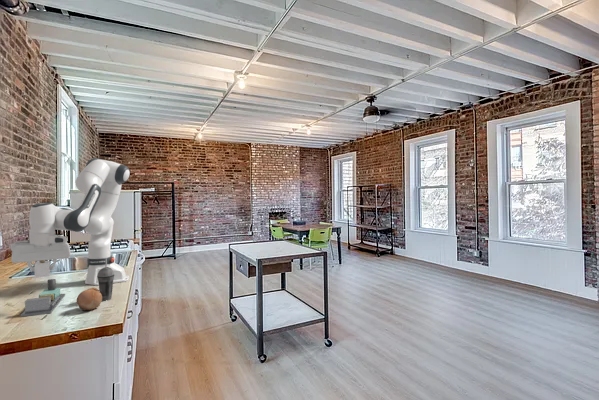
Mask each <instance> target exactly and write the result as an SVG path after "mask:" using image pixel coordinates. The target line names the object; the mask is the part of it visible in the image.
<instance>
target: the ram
mask: <svg viewBox="0 0 599 400" xmlns="http://www.w3.org/2000/svg"><path fill="white" fill-rule="evenodd" d="M60 294H61V287H57V286H56V279H55V278H49V279H48V280H47V289H44V290H43V291H42V292H41V293H40V294H39V295H38V298H41V297H50V296H51V300H54V299H55V298H56V297H57V296H59V295H60Z"/></svg>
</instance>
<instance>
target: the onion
mask: <svg viewBox="0 0 599 400" xmlns="http://www.w3.org/2000/svg"><path fill="white" fill-rule="evenodd" d="M102 302H103V301H102V294H101V293H100V292H99V289H97V288H96V287H91V288H88V289H85V290H83V291H81V292H79V294H78V296H77V298H76V305H77V306H78V307H79V308H80V310H82V311H91V310H92V311H93V310H96V309H97V308H99V307H100V306H101V303H102Z"/></svg>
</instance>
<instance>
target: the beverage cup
mask: <svg viewBox="0 0 599 400" xmlns="http://www.w3.org/2000/svg"><path fill="white" fill-rule="evenodd" d="M114 275H115V274H114V271H113V270H112V269H111V268H109V267H107V258H106V267H104V268H102V269H101V270H100V271H99V272H98V276H97V277H98V281H99V285H98V290H99V292H100V293H101V294H102V301H101V302H106V300H107V301H110V300H112V297H113V296H112V295H113V288H114V283H113V279H114Z"/></svg>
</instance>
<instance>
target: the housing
mask: <svg viewBox="0 0 599 400" xmlns="http://www.w3.org/2000/svg"><path fill="white" fill-rule="evenodd" d="M50 265H51V260H43V261H34V267H35V272H34V278H35V279H36V278H44V277H50V275H51V270H50Z"/></svg>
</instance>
